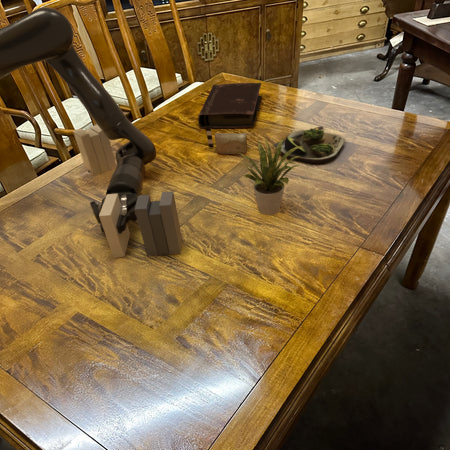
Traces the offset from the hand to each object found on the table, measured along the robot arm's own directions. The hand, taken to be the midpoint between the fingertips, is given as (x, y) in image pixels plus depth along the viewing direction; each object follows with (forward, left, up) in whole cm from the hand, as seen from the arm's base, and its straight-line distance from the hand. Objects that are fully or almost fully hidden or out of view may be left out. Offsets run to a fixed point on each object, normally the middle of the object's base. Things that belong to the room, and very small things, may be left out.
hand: (111, 230), depth 88 cm
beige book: (+2, +2, -6) cm, 7 cm away
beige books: (+12, +40, -6) cm, 42 cm away
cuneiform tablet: (+45, +23, -7) cm, 51 cm away
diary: (+62, +45, -7) cm, 77 cm away
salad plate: (+63, +8, -7) cm, 63 cm away
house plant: (+37, -9, -7) cm, 38 cm away
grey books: (+9, -4, -6) cm, 12 cm away
